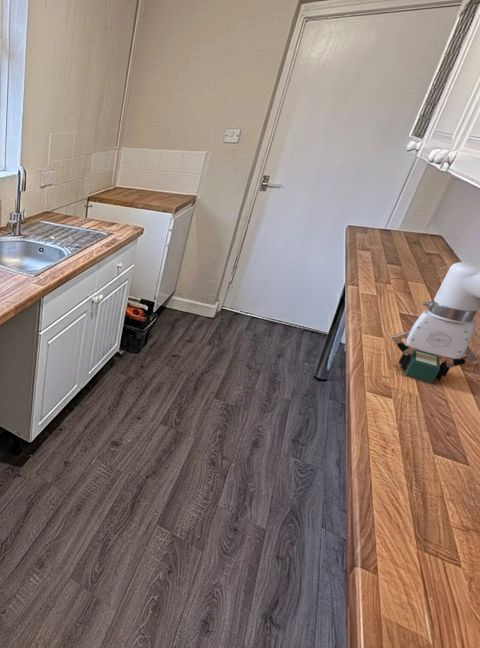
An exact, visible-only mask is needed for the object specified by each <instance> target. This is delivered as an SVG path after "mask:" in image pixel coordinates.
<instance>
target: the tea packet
mask: <svg viewBox="0 0 480 648" xmlns="http://www.w3.org/2000/svg"><path fill="white" fill-rule="evenodd" d="M440 365H441V361H440V356H439V355H435V354H431V353H427V352H423V351H419V350H415V351H413V352H412V353H411V358H410V360H409V362H408V364H407V365H406V367H405V373H404V374H405V377H409V378H411V379H414V380H419V381H422V382H425V383H428V384H433V383H434V382H435V380H436V379H437V378H436V376H437V374H438V373H439V371H440Z"/></svg>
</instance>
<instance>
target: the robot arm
mask: <svg viewBox="0 0 480 648" xmlns="http://www.w3.org/2000/svg"><path fill="white" fill-rule="evenodd" d="M422 307H425V308H427V309H424V310H423V311H422V313H421V314H420V315H419V316H418V318H417V319H416V320H415V322H414V323H413V325H412V327H411V328H410V330H407V331H403V332H400V333H397V334H394V335H392V336H391V340H392V341H393V342H394V343H395V345H396V346H397V347H398V349H399V350H400V352H401V353H402V354H401V356H400V358H399V360H398V364H399V365H400V369H401V370H406V365H407V364H408V362H409V360H410V358H411V353H412V352H413V351H415V350H420V351H424V352H427V353H431V354H435V355H438V356H439V357H443V358H445V360H444V361H442V362H440V371H439V373H438V374H437V376H436V378H435V379H437V380H441V379H442V377H443V378H445V377H446V376H447V374H448V372H449V371H450V370H451V368H454V367H457V366H460V365H464V364H469V363H473V362H477V361H478V357H477V355H476V354H475V352H474V351H473V350H472V349H471V348H470V346H469V345H470V343H471V341H472V338H473V337H474V333H475V330H476V326H477V322H476V321H475V320H474V318H475V316H476V315H477V313H478V311H479V309H480V263H478V262H477V263H476V262H468V261H459V262H455V263H453V264H452V265H450V267H449V268H448V270H447V272H446V275H445V277H444V279H443V280H442V283H441V284H440V287H439V289H438V291H437V293H436V294H435V296H434V298H433V299H432V300H431V301H426V300H424V301H423V302H422ZM404 339H406V341H405V342H404V341H403V340H404Z"/></svg>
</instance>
